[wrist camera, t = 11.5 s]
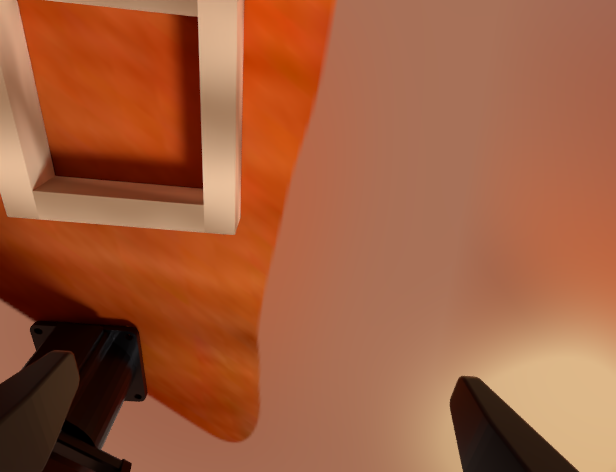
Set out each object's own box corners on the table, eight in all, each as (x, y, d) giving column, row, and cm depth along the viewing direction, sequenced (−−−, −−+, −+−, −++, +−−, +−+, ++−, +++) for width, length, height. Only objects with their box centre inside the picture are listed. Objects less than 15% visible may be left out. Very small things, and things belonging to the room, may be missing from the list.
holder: (240, 217, 22) (234, 235, 20) (32, 200, 21) (7, 216, 19) (244, -21, 17) (237, -25, 15) (-33, -53, 16) (-74, -61, 14)
